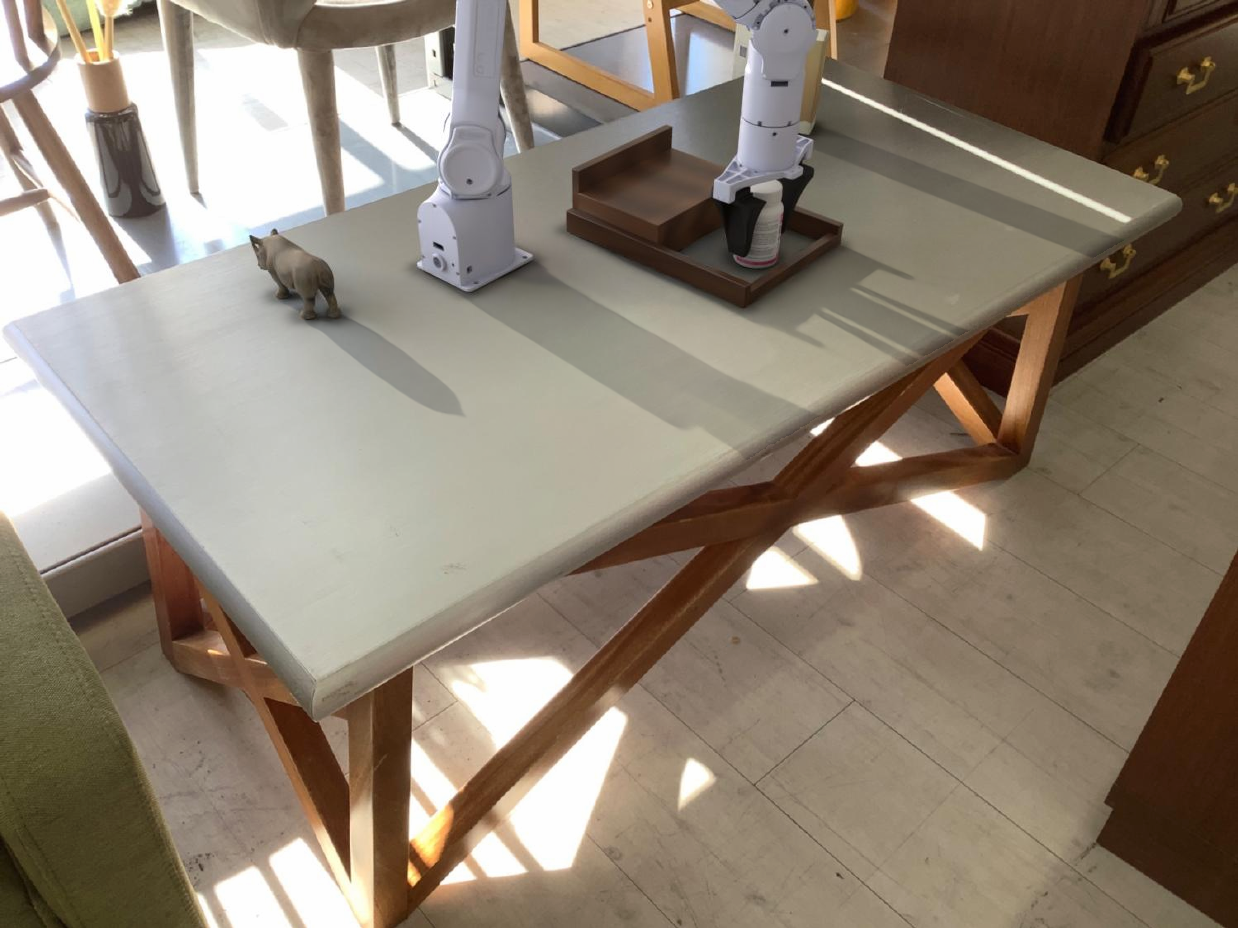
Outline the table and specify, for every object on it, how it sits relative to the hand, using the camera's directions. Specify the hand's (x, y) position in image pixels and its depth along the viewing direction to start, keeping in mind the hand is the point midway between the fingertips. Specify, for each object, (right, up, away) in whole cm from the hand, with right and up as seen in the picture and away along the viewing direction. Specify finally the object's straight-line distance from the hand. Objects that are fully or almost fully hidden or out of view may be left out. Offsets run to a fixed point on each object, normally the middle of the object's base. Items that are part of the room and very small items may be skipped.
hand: (756, 242), depth 116 cm
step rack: (-5, +1, +5) cm, 7 cm away
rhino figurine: (-47, -6, -6) cm, 48 cm away
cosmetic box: (+8, +21, +29) cm, 36 cm away
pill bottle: (0, -2, +1) cm, 2 cm away
